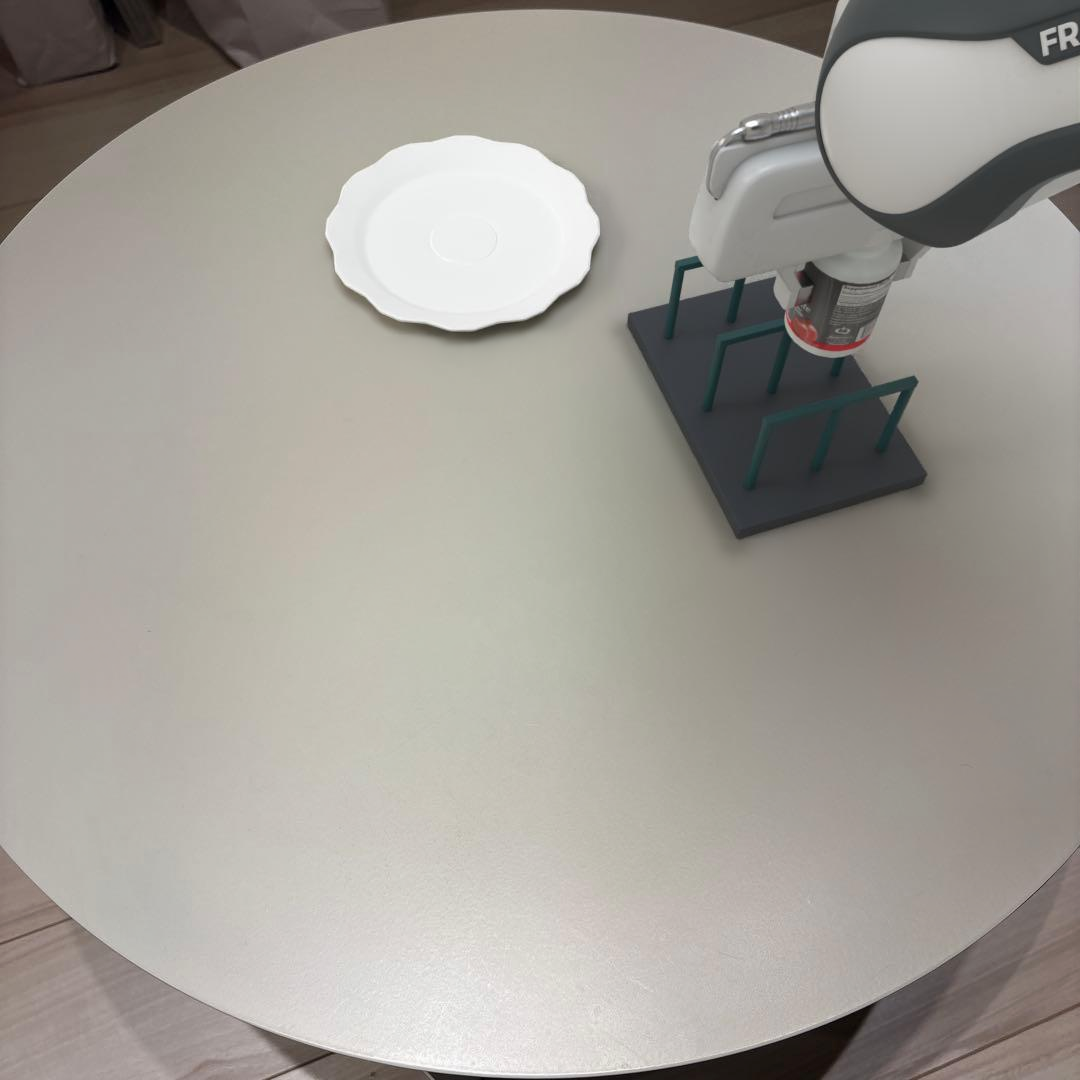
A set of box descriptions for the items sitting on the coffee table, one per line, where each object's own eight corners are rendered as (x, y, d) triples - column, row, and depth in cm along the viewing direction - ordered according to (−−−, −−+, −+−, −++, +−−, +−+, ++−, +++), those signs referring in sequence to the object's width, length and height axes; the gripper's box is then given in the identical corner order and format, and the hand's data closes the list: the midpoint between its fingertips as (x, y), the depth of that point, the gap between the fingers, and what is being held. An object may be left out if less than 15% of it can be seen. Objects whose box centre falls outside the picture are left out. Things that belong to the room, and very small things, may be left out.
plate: (651, 240, 90) (653, 224, 89) (462, 388, 82) (461, 373, 81) (465, 118, 97) (464, 101, 96) (275, 242, 89) (271, 226, 88)
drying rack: (923, 484, 78) (964, 406, 71) (737, 539, 76) (760, 465, 68) (795, 281, 88) (820, 195, 81) (626, 324, 85) (636, 239, 78)
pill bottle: (769, 304, 71) (802, 180, 63) (847, 287, 72) (891, 163, 64) (803, 369, 69) (843, 248, 60) (885, 350, 69) (935, 229, 61)
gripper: (743, 170, 52) (701, 368, 64) (1124, 81, 56) (1018, 284, 68) (688, 85, 55) (658, 289, 67) (1053, 7, 59) (963, 213, 71)
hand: (841, 286), depth 67 cm, fingers closed on pill bottle, 5 cm apart
